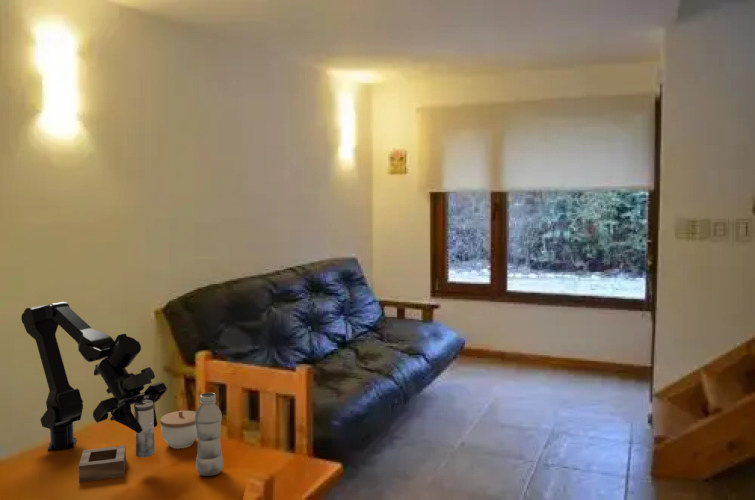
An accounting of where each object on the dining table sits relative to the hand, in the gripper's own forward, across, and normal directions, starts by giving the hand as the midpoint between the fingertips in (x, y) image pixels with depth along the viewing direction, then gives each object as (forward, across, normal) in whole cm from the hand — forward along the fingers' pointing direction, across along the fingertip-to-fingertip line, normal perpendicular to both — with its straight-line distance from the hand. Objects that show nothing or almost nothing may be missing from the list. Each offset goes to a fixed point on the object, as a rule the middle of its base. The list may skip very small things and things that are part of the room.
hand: (148, 429), depth 158 cm
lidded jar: (+3, +17, +13) cm, 22 cm away
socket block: (0, -5, +16) cm, 17 cm away
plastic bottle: (+17, +7, -1) cm, 19 cm away
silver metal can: (+4, 0, +6) cm, 7 cm away
